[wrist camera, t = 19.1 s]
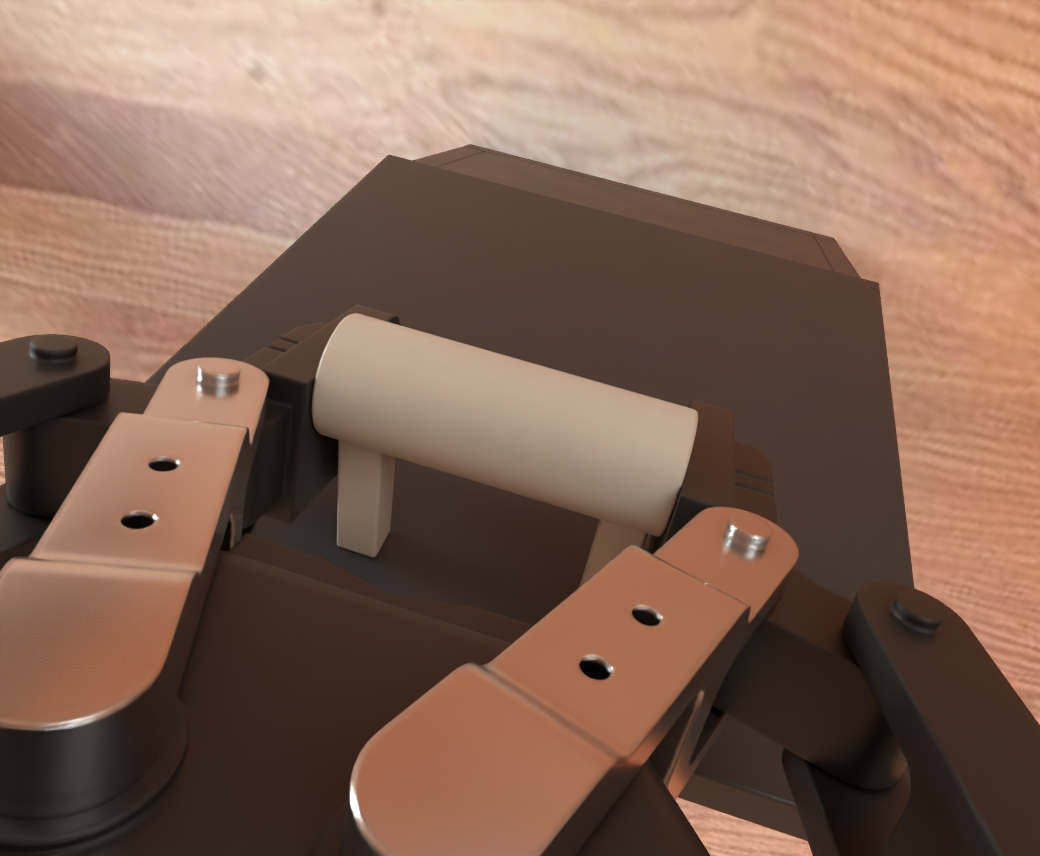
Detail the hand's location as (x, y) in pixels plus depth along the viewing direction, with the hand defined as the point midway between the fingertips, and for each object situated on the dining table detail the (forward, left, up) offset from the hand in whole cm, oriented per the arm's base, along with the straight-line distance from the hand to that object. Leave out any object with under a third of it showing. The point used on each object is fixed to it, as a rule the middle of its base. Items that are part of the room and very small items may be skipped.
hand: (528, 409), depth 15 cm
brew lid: (0, -2, -4) cm, 5 cm away
